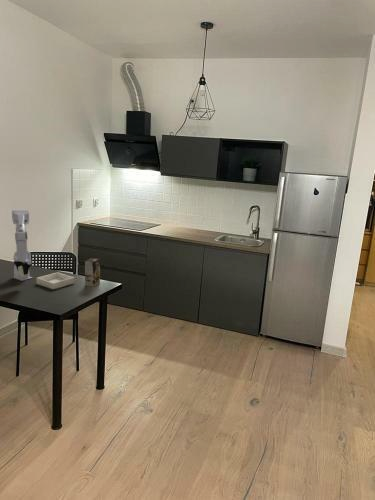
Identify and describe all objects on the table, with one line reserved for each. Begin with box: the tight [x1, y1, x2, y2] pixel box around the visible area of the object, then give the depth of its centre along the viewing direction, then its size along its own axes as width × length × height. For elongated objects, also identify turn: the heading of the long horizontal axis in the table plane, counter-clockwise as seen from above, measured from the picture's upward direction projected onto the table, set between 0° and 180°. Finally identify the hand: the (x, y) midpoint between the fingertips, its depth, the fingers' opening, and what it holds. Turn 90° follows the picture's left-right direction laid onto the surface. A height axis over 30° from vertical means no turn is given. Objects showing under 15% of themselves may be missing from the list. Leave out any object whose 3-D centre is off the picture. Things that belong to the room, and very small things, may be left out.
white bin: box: [36, 272, 75, 291], centre depth 230 cm, size 16×16×4 cm
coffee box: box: [84, 257, 101, 288], centre depth 232 cm, size 9×6×16 cm
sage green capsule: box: [18, 266, 28, 277], centre depth 218 cm, size 5×5×6 cm
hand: (23, 273), depth 218 cm, fingers closed on sage green capsule, 5 cm apart
